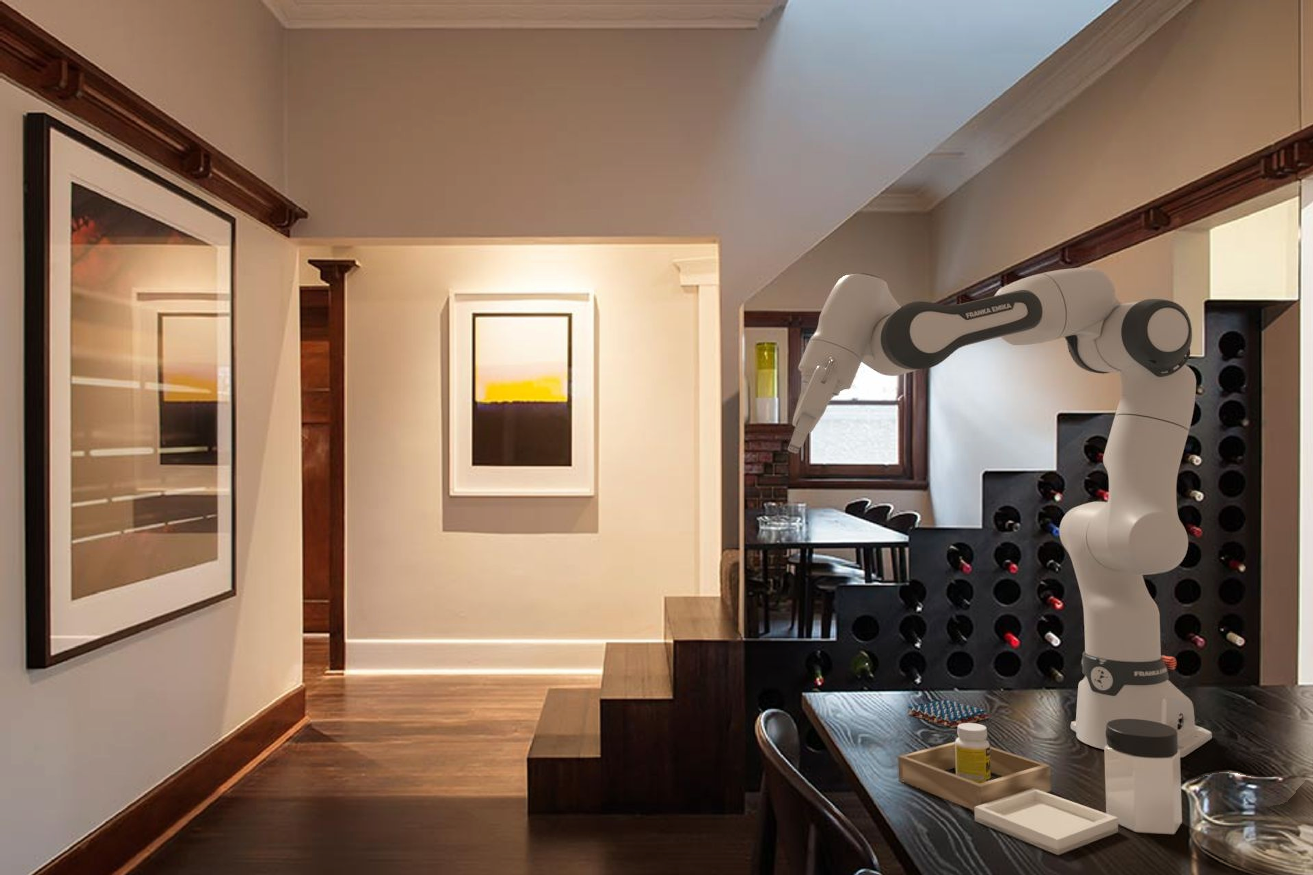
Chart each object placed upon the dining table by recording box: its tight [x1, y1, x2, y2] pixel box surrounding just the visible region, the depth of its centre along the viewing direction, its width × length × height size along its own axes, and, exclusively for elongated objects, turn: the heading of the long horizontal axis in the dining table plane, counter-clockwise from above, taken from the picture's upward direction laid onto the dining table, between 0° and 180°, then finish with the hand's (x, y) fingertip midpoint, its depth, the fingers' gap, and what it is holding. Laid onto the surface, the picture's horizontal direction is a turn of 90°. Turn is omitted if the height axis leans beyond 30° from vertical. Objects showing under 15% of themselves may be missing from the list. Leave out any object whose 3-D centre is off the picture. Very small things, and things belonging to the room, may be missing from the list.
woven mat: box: [907, 698, 989, 728], centre depth 163 cm, size 10×11×2 cm
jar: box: [1103, 719, 1183, 835], centre depth 116 cm, size 9×8×12 cm
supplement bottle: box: [954, 722, 992, 784], centre depth 129 cm, size 5×5×8 cm
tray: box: [974, 788, 1119, 856], centre depth 114 cm, size 12×12×2 cm
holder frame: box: [897, 741, 1052, 812], centre depth 129 cm, size 15×15×4 cm
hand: (794, 448), depth 141 cm, fingers open, 8 cm apart
